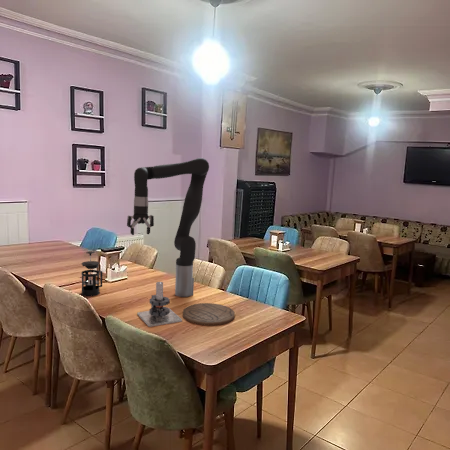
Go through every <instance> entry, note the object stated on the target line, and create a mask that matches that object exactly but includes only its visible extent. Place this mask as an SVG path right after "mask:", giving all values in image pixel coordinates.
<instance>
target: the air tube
mask: <svg viewBox="0 0 450 450" xmlns="http://www.w3.org/2000/svg"><path fill="white" fill-rule="evenodd" d="M155 295H156V301H163V297H164V282H163V281H156V282H155ZM163 307H164V306H160V305H159V306H156V311H157V312H161V311H163ZM156 317H158V316H156ZM159 317H160V316H159ZM161 317H162V316H161Z"/></svg>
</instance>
